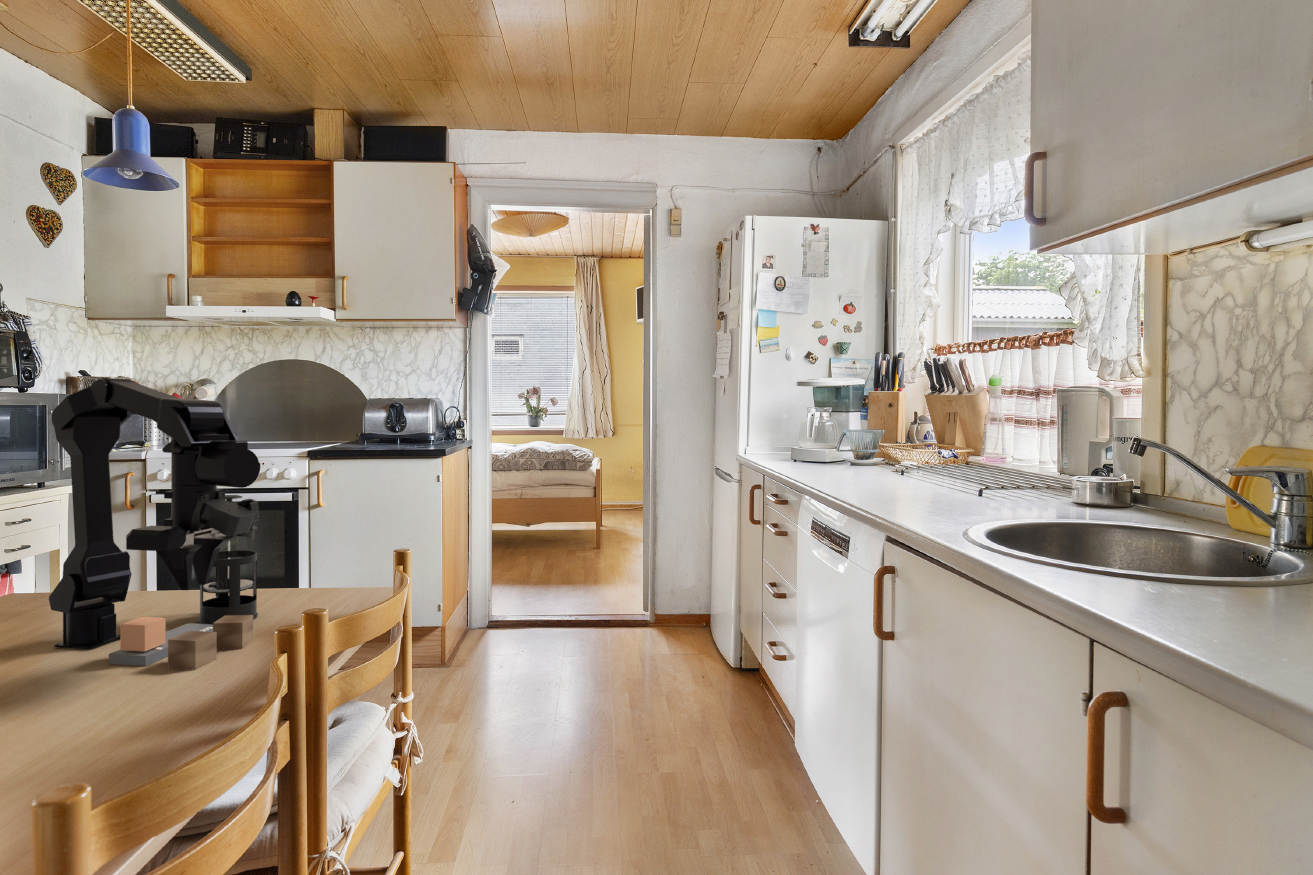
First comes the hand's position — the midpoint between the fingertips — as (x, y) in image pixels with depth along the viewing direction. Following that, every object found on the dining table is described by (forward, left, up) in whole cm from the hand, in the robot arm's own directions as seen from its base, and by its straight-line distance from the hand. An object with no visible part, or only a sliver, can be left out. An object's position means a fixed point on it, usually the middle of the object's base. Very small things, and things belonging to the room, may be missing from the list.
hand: (194, 587), depth 107 cm
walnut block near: (-1, +1, -12) cm, 12 cm away
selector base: (-10, +7, -12) cm, 17 cm away
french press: (-12, +23, -12) cm, 29 cm away
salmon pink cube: (-10, +2, -10) cm, 14 cm away
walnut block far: (-1, +10, -12) cm, 16 cm away
